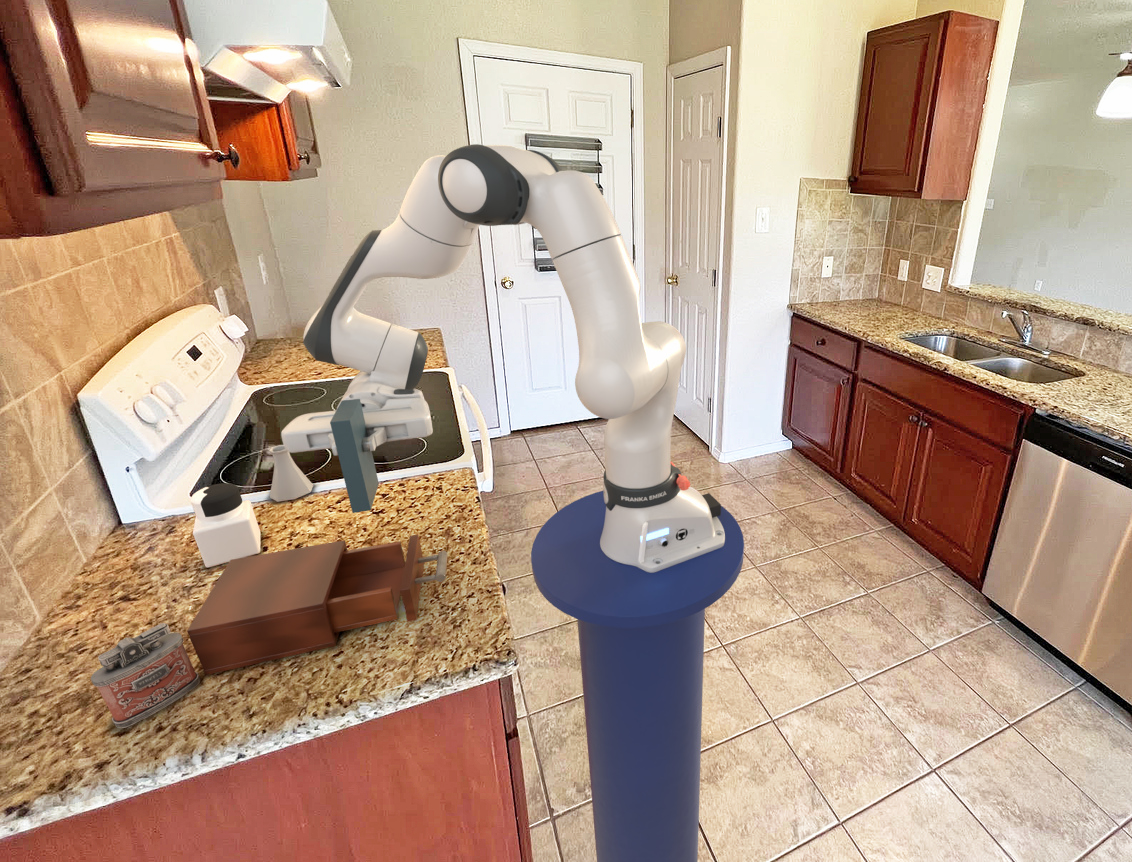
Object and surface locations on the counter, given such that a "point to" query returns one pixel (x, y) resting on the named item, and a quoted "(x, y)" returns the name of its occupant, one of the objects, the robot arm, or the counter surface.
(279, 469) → the flask
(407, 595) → the drawer
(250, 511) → the medicine bottle
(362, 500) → the dark teal rectangular block
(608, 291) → the robot arm
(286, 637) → the cabinet
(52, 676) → the counter surface
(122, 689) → the lighter
